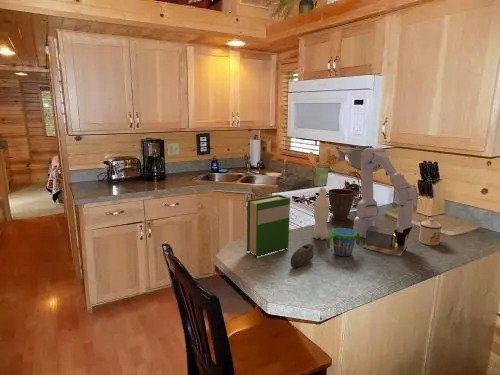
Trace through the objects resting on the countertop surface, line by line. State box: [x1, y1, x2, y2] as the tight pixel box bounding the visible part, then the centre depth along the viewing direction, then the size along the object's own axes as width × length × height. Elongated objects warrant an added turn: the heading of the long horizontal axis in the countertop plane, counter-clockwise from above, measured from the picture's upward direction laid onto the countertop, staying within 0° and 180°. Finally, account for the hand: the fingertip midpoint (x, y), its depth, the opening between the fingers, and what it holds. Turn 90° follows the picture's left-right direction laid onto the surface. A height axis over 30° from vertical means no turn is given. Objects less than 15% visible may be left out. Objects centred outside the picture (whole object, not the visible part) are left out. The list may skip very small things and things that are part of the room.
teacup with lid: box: [418, 218, 443, 246], centre depth 164 cm, size 12×9×12 cm
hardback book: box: [246, 194, 291, 257], centre depth 150 cm, size 18×7×24 cm, turn 126°
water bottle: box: [312, 187, 330, 241], centre depth 167 cm, size 7×7×25 cm
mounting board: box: [362, 244, 408, 257], centre depth 159 cm, size 16×14×1 cm
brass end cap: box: [391, 231, 409, 250], centre depth 157 cm, size 15×6×8 cm, turn 55°
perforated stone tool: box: [290, 243, 315, 269], centre depth 140 cm, size 15×5×7 cm, turn 138°
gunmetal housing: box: [364, 225, 395, 250], centre depth 159 cm, size 11×7×7 cm, turn 55°
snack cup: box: [326, 227, 361, 257], centre depth 150 cm, size 16×10×10 cm
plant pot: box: [327, 188, 356, 221], centre depth 199 cm, size 15×15×16 cm
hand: (402, 243), depth 154 cm, fingers open, 7 cm apart
